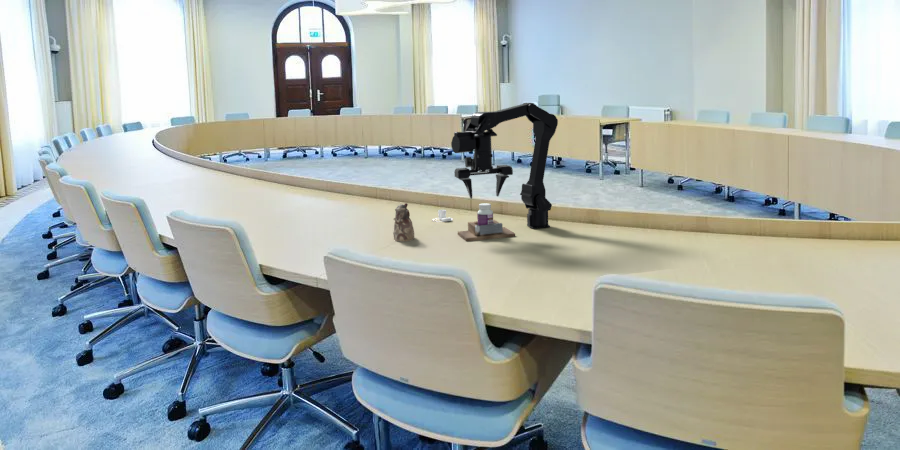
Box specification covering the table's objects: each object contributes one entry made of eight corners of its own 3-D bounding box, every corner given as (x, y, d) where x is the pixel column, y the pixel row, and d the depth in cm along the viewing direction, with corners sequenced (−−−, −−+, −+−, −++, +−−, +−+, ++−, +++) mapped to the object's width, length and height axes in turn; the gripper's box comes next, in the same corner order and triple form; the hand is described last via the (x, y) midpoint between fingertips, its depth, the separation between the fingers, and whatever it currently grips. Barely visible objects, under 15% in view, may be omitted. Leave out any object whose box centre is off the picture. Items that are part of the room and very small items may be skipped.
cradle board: (504, 229, 241) (504, 218, 240) (515, 236, 230) (514, 224, 229) (457, 234, 237) (457, 223, 236) (466, 241, 226) (465, 229, 225)
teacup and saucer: (453, 223, 258) (452, 212, 257) (431, 223, 258) (431, 213, 257) (453, 218, 267) (452, 208, 266) (432, 219, 267) (432, 208, 266)
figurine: (389, 239, 233) (386, 204, 231) (404, 235, 238) (402, 201, 236) (403, 242, 229) (401, 206, 226) (418, 238, 234) (417, 203, 231)
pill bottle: (491, 234, 230) (490, 205, 228) (476, 233, 232) (474, 205, 230) (495, 230, 235) (494, 202, 233) (480, 230, 237) (479, 202, 235)
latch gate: (501, 231, 231) (500, 222, 231) (502, 232, 230) (502, 223, 229) (474, 234, 229) (474, 225, 228) (476, 235, 228) (475, 226, 227)
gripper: (502, 146, 238) (503, 191, 241) (449, 150, 234) (451, 195, 237) (512, 149, 227) (513, 196, 230) (457, 153, 223) (459, 201, 226)
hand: (484, 197), depth 231 cm, fingers open, 9 cm apart
